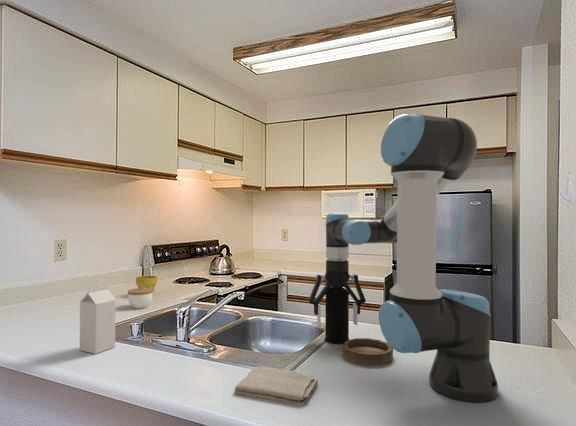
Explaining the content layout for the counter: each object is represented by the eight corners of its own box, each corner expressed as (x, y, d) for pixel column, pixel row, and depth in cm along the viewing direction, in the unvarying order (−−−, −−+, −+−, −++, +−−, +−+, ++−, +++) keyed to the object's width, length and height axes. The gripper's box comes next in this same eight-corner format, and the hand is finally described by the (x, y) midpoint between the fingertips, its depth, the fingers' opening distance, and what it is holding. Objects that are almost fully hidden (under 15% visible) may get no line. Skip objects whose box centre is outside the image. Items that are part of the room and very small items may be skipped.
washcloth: (306, 409, 83) (306, 394, 83) (232, 396, 89) (232, 383, 89) (319, 385, 94) (319, 373, 94) (252, 375, 100) (252, 364, 100)
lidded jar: (146, 303, 179) (146, 283, 179) (157, 307, 172) (157, 286, 172) (123, 307, 172) (123, 286, 172) (133, 311, 164) (134, 289, 164)
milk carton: (115, 347, 120) (115, 286, 120) (95, 354, 113) (96, 290, 113) (99, 343, 123) (100, 284, 123) (79, 350, 116) (79, 288, 116)
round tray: (399, 364, 107) (399, 354, 107) (350, 366, 105) (350, 355, 105) (382, 347, 121) (382, 337, 121) (339, 348, 119) (339, 338, 119)
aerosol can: (333, 345, 122) (333, 283, 122) (319, 338, 129) (320, 279, 129) (354, 341, 126) (354, 281, 126) (339, 334, 133) (340, 277, 133)
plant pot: (159, 293, 201) (159, 275, 201) (154, 298, 190) (154, 278, 190) (139, 294, 200) (139, 275, 200) (132, 298, 190) (132, 278, 190)
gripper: (368, 257, 132) (368, 320, 132) (300, 258, 130) (300, 321, 130) (375, 260, 125) (375, 326, 125) (303, 260, 123) (302, 328, 123)
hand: (337, 324), depth 127 cm, fingers open, 12 cm apart
